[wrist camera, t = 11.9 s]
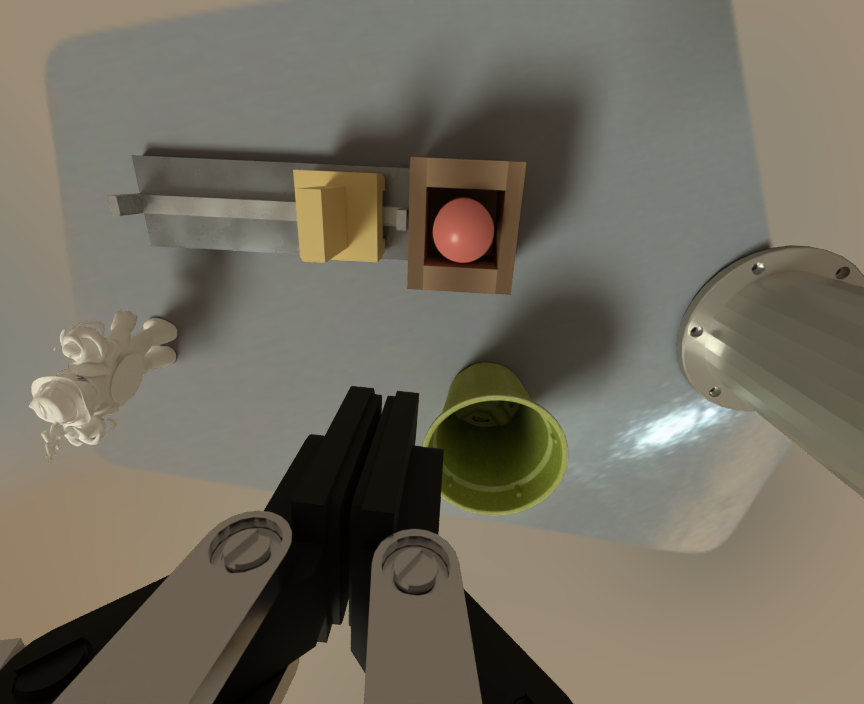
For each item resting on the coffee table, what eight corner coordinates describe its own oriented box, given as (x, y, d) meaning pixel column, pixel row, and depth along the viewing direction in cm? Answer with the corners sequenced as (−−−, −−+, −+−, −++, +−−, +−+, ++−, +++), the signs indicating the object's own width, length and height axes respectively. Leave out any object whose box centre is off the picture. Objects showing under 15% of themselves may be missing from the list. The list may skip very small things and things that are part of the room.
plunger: (490, 196, 26) (497, 201, 21) (485, 248, 27) (490, 264, 23) (438, 193, 26) (434, 198, 21) (436, 246, 27) (431, 261, 23)
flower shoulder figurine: (181, 393, 37) (61, 488, 26) (136, 378, 36) (-5, 468, 25) (193, 300, 33) (60, 363, 22) (144, 282, 33) (-17, 338, 22)
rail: (413, 168, 28) (407, 167, 25) (411, 257, 31) (405, 268, 27) (142, 155, 29) (96, 153, 25) (160, 243, 31) (120, 253, 28)
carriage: (384, 173, 27) (358, 173, 20) (385, 253, 29) (361, 279, 22) (309, 170, 28) (257, 168, 20) (315, 250, 30) (268, 274, 22)
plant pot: (554, 349, 33) (584, 405, 25) (531, 447, 37) (551, 523, 29) (436, 335, 33) (428, 387, 25) (425, 435, 37) (416, 507, 29)
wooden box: (511, 164, 28) (526, 162, 21) (500, 269, 31) (510, 294, 24) (421, 160, 28) (410, 156, 22) (418, 264, 31) (407, 288, 24)
